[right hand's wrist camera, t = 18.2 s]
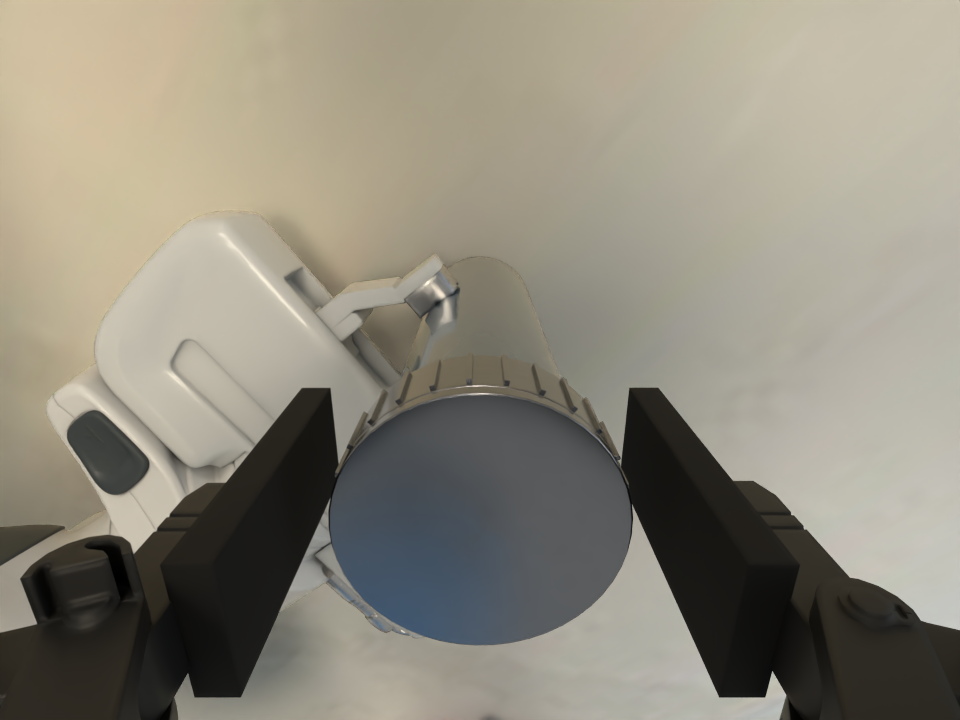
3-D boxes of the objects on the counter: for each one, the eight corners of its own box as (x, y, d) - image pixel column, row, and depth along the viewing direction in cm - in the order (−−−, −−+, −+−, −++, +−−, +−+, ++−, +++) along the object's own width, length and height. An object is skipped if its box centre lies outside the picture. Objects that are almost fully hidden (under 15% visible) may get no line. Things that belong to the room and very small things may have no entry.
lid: (667, 458, 12) (703, 513, 10) (496, 617, 14) (499, 690, 12) (460, 293, 11) (455, 321, 9) (297, 490, 12) (264, 550, 11)
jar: (436, 356, 28) (379, 611, 12) (425, 260, 26) (339, 411, 10) (531, 348, 28) (602, 597, 12) (526, 252, 26) (601, 391, 10)
